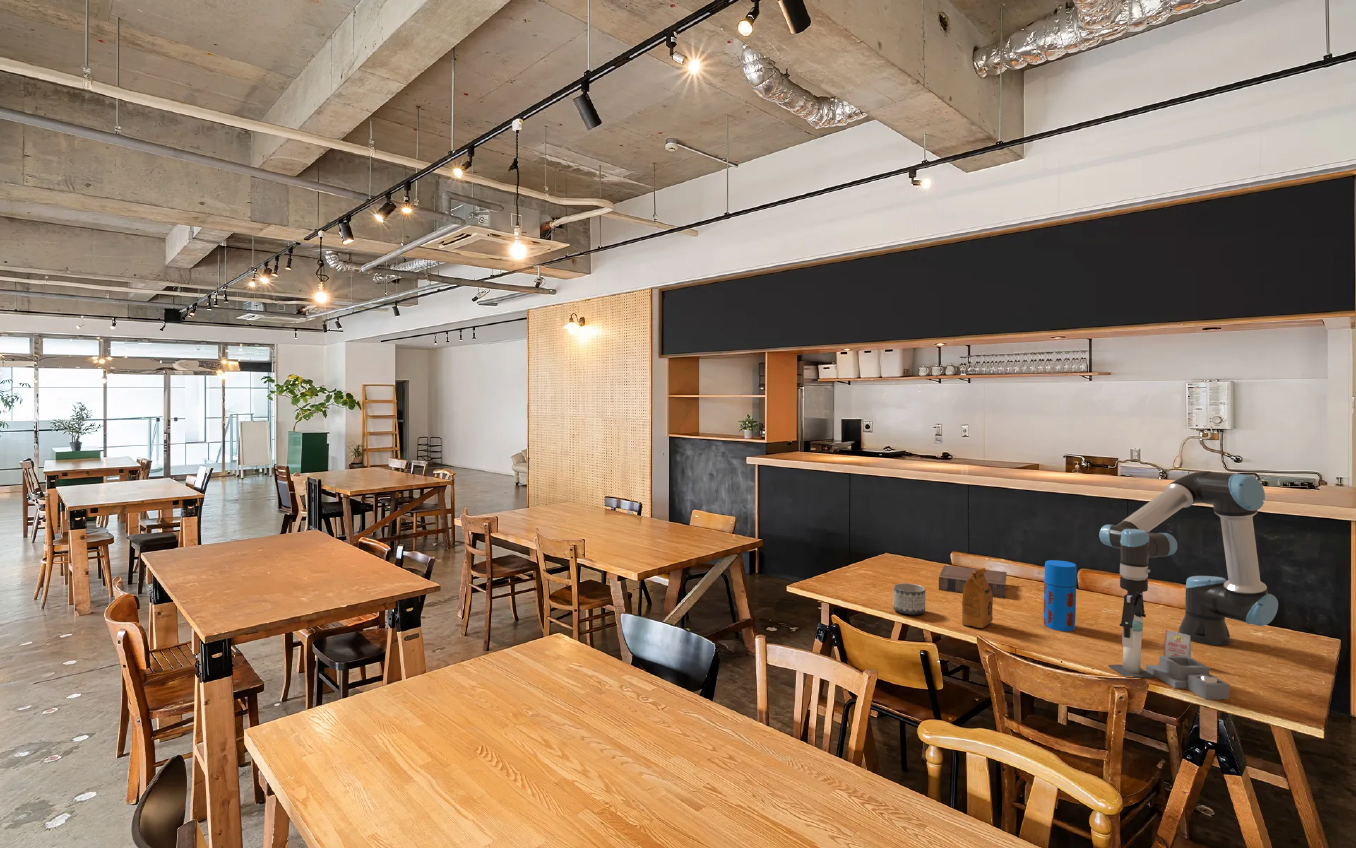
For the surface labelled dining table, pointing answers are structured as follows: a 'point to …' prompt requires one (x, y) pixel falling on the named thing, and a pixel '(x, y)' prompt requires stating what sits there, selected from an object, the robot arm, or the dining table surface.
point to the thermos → (1060, 595)
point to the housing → (1188, 676)
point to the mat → (1142, 673)
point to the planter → (909, 598)
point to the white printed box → (1177, 644)
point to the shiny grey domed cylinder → (1208, 678)
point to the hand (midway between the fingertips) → (1132, 641)
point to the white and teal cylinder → (1133, 650)
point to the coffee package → (977, 601)
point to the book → (958, 576)
